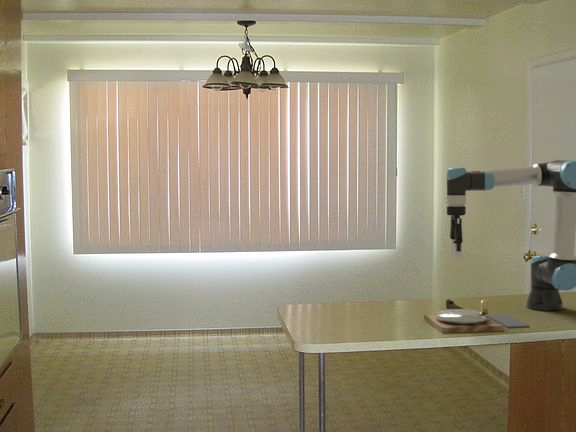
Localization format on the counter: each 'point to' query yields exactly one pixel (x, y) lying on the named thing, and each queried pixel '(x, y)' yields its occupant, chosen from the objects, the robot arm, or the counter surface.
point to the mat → (508, 321)
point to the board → (453, 328)
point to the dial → (465, 315)
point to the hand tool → (451, 305)
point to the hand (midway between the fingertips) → (456, 257)
